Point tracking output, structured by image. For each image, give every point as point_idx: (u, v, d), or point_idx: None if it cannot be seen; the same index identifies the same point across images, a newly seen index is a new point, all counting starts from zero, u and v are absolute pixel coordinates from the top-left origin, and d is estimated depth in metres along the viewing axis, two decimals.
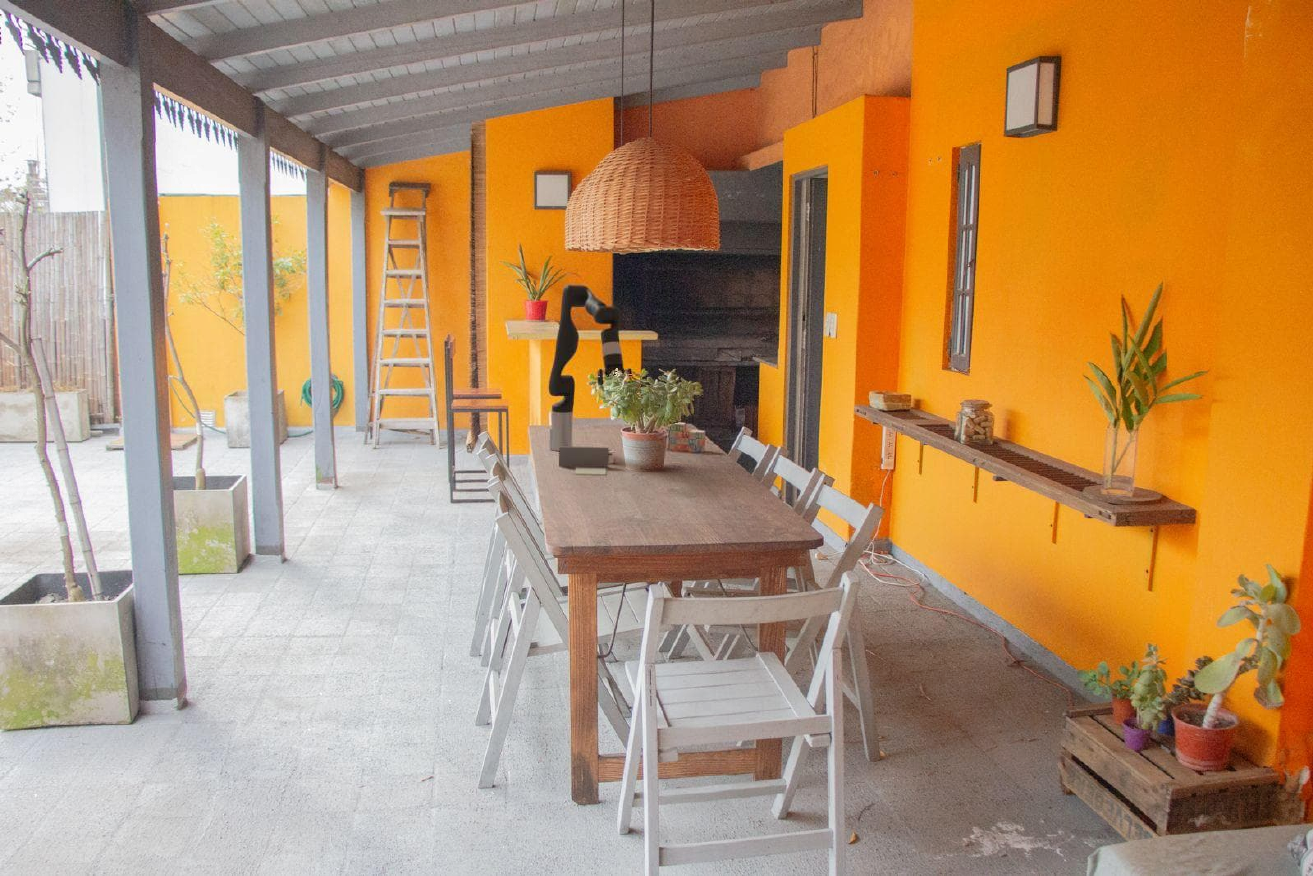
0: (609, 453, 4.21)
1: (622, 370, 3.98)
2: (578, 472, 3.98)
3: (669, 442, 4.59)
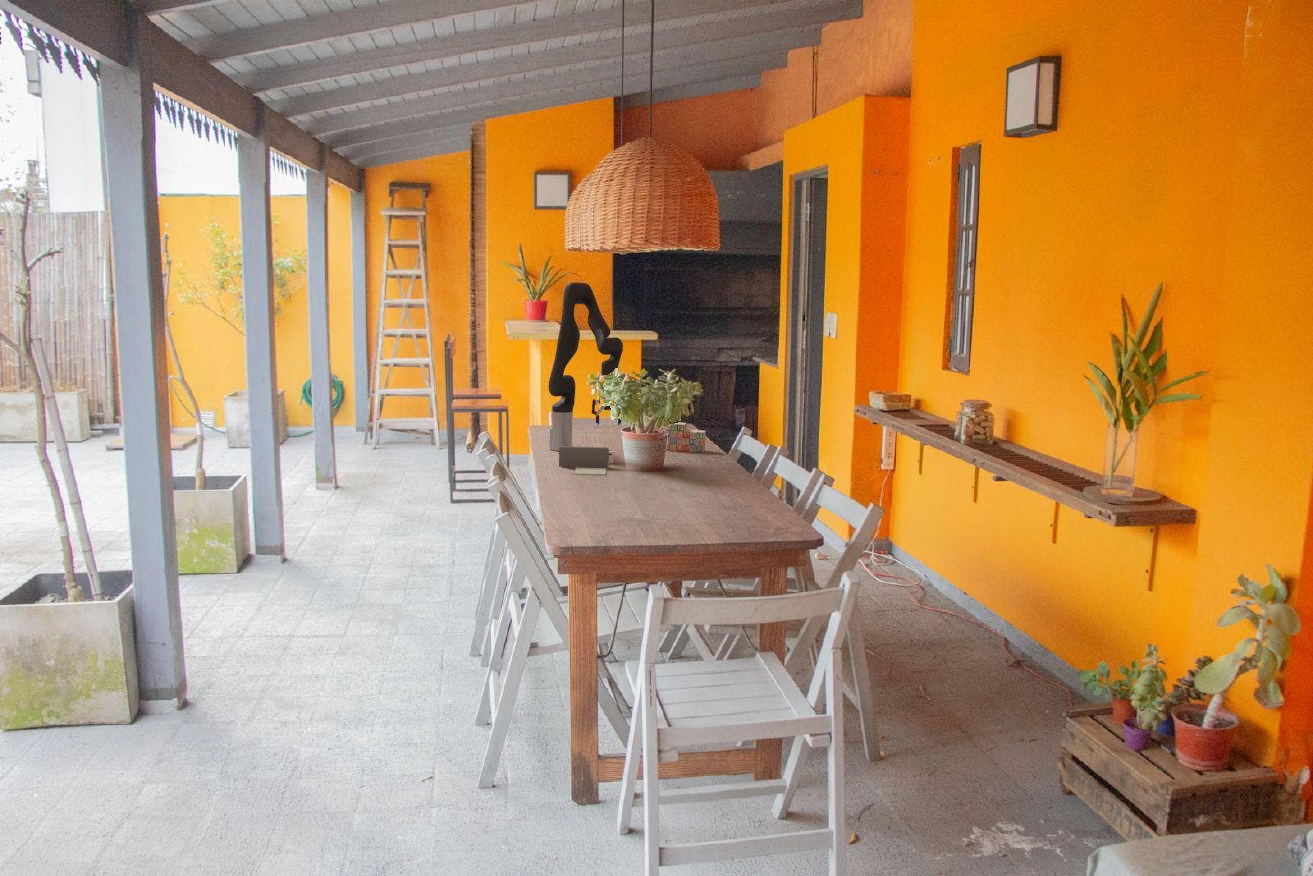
0: (609, 453, 4.21)
1: None
2: (578, 472, 3.98)
3: (670, 442, 4.58)
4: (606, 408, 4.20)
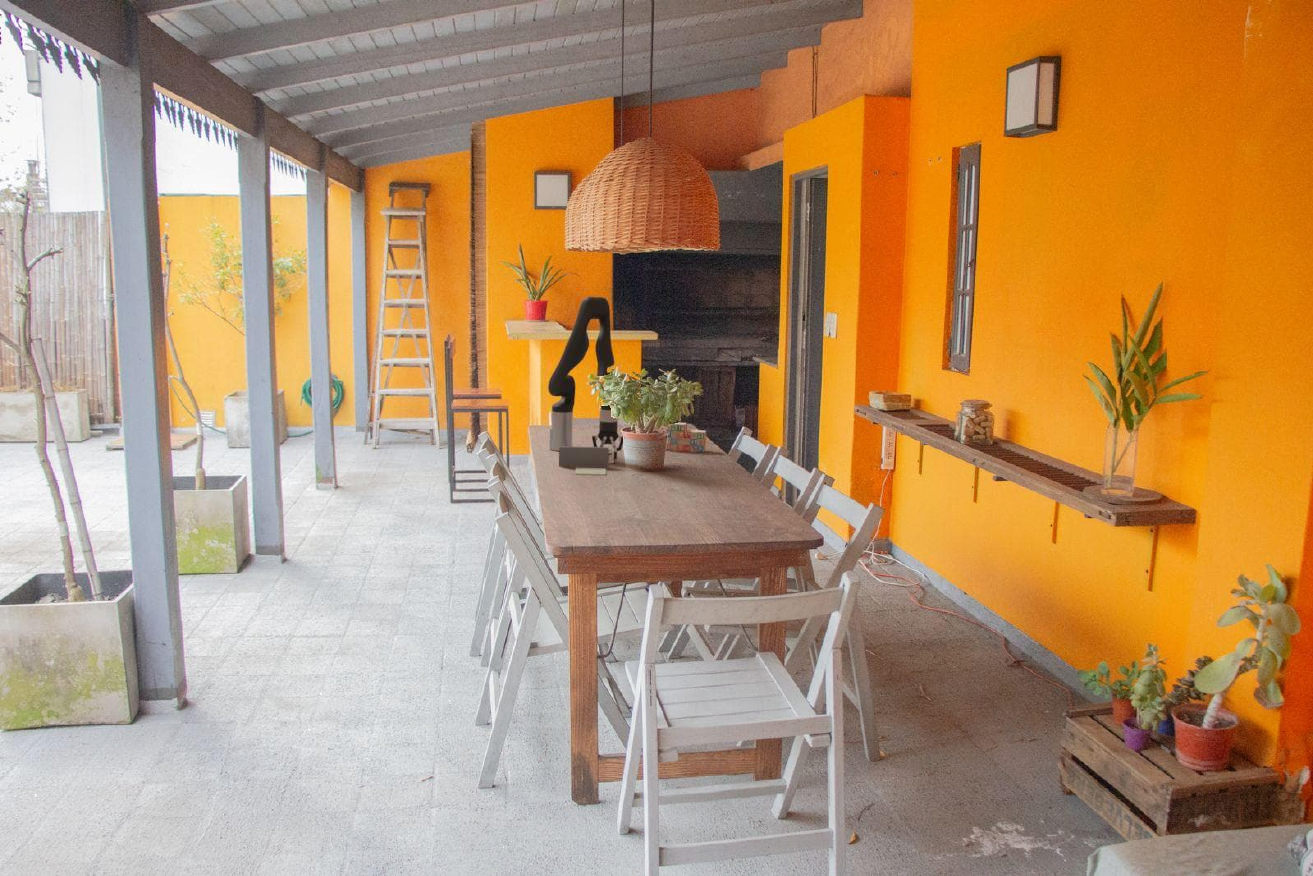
0: (609, 453, 4.21)
1: (615, 436, 4.22)
2: (578, 472, 3.98)
3: (670, 442, 4.58)
4: (607, 442, 4.22)
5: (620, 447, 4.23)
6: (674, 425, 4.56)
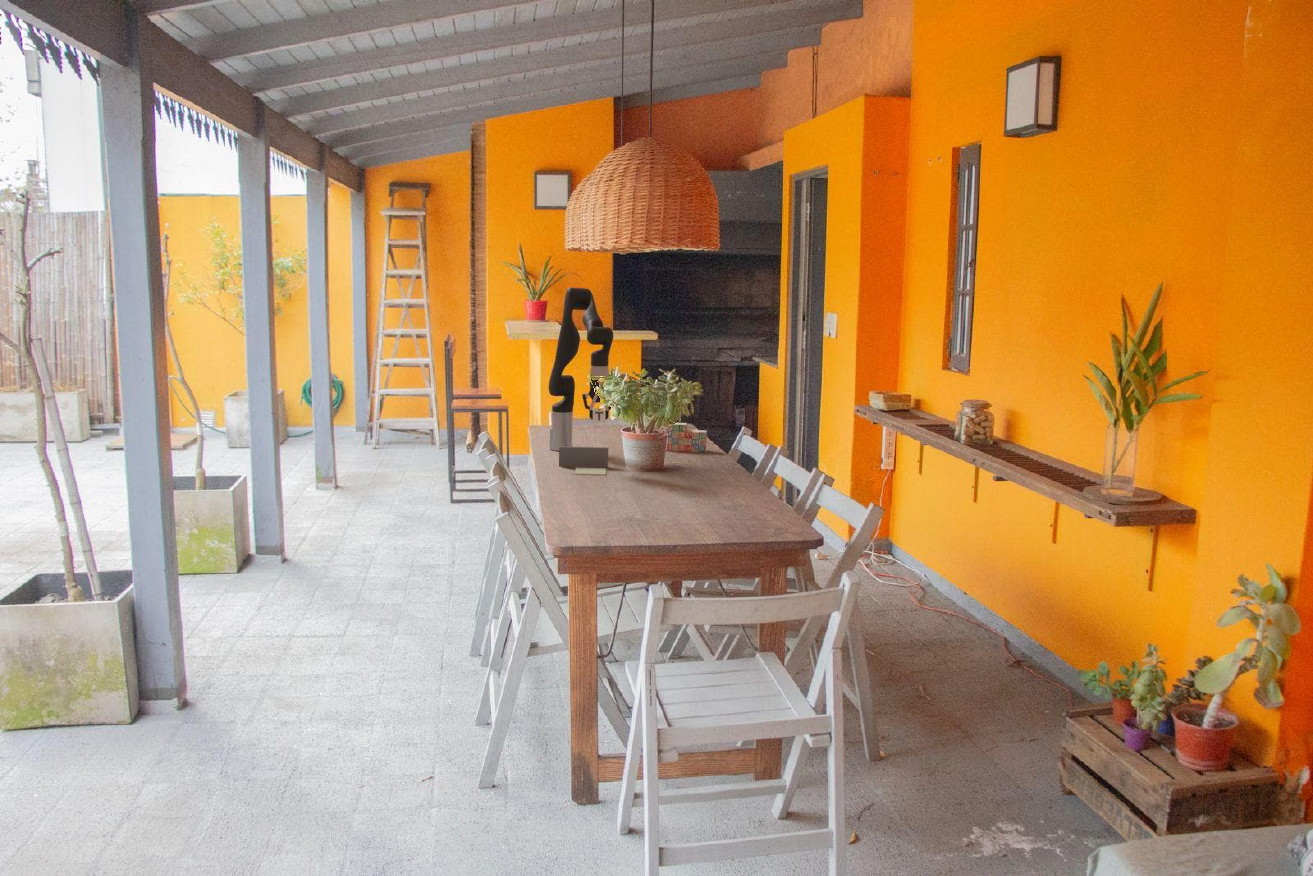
0: (600, 411, 4.03)
1: None
2: (578, 472, 3.98)
3: (671, 443, 4.57)
4: (598, 400, 4.04)
5: None
6: (675, 425, 4.56)
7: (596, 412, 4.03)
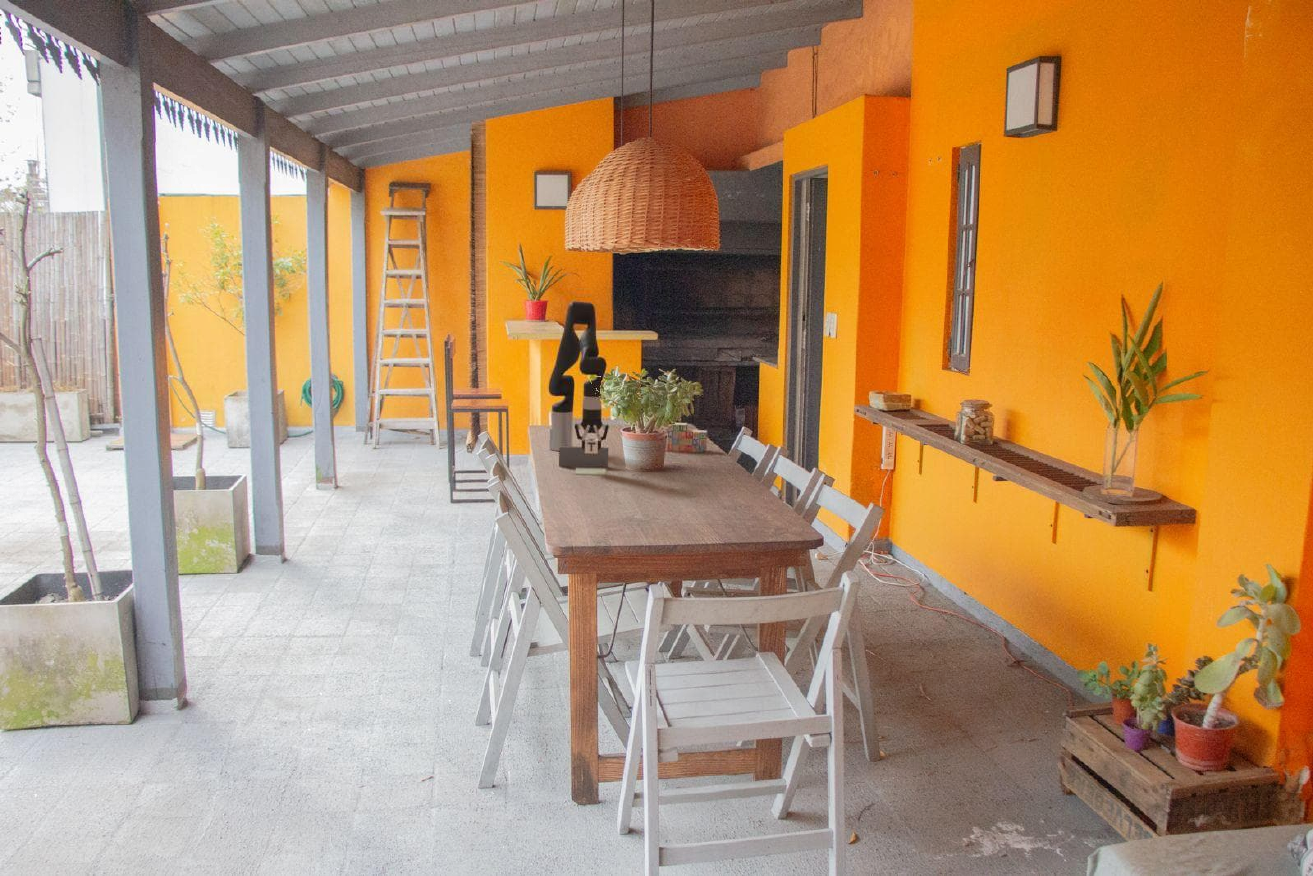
0: (593, 442, 3.98)
1: (599, 424, 3.99)
2: (578, 472, 3.98)
3: (672, 443, 4.57)
4: (590, 430, 3.99)
5: (604, 436, 4.00)
6: (676, 425, 4.55)
7: (588, 443, 3.98)
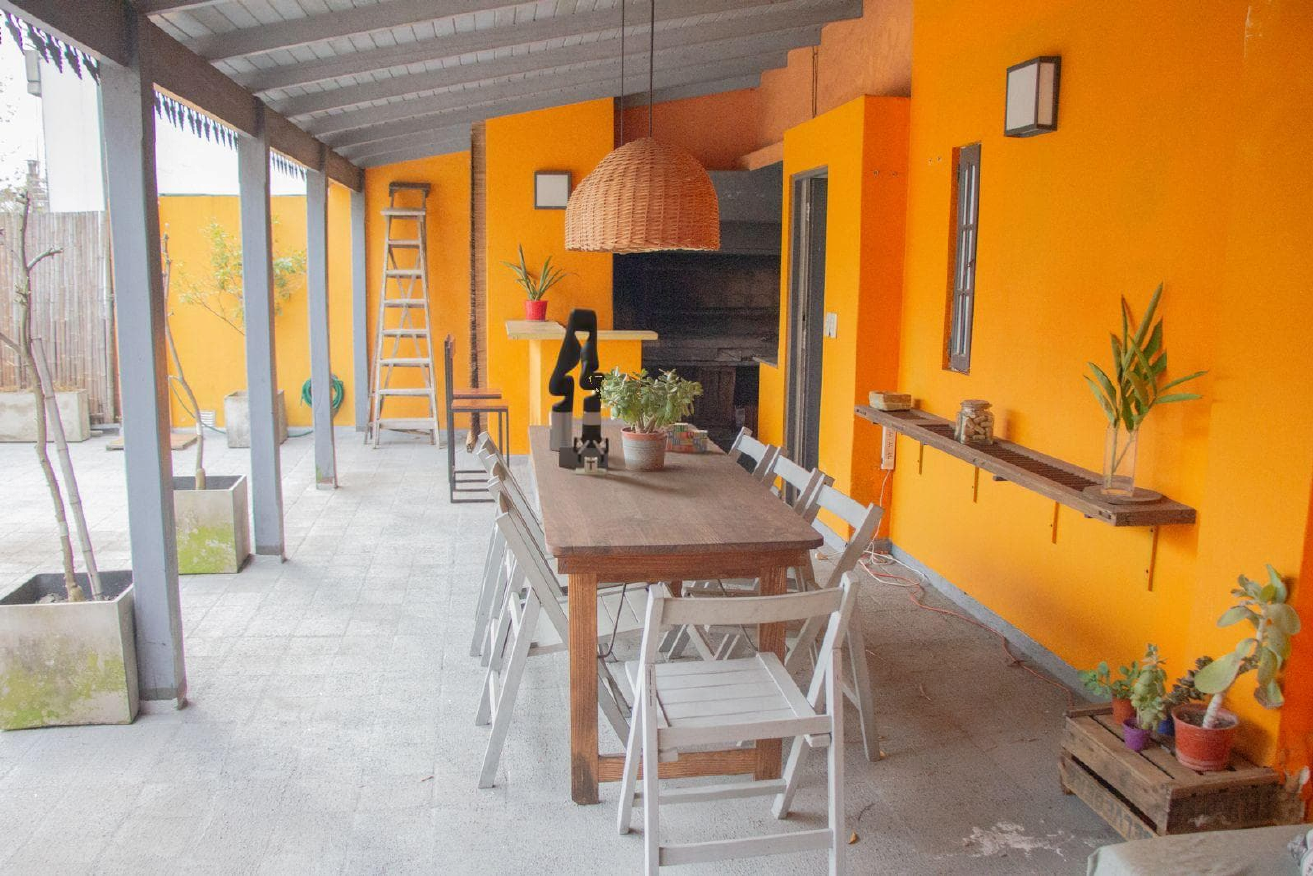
0: (592, 461, 4.00)
1: (598, 439, 4.00)
2: (578, 472, 3.98)
3: (673, 443, 4.56)
4: (588, 446, 4.00)
5: (607, 449, 4.01)
6: (677, 426, 4.55)
7: (588, 461, 4.00)
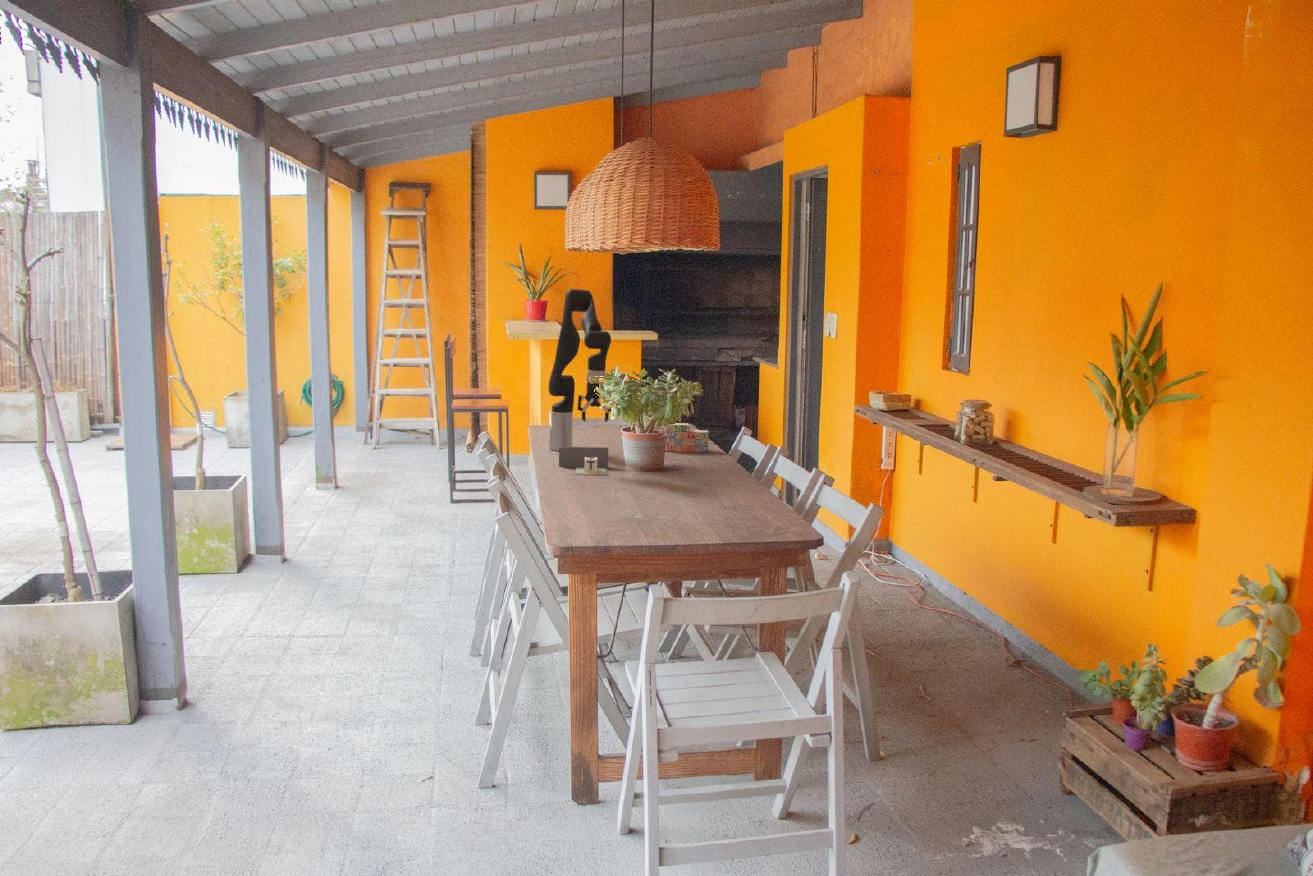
0: (592, 461, 4.00)
1: None
2: (578, 472, 3.98)
3: (674, 443, 4.56)
4: (593, 404, 4.04)
5: None
6: (678, 426, 4.54)
7: (588, 461, 4.00)
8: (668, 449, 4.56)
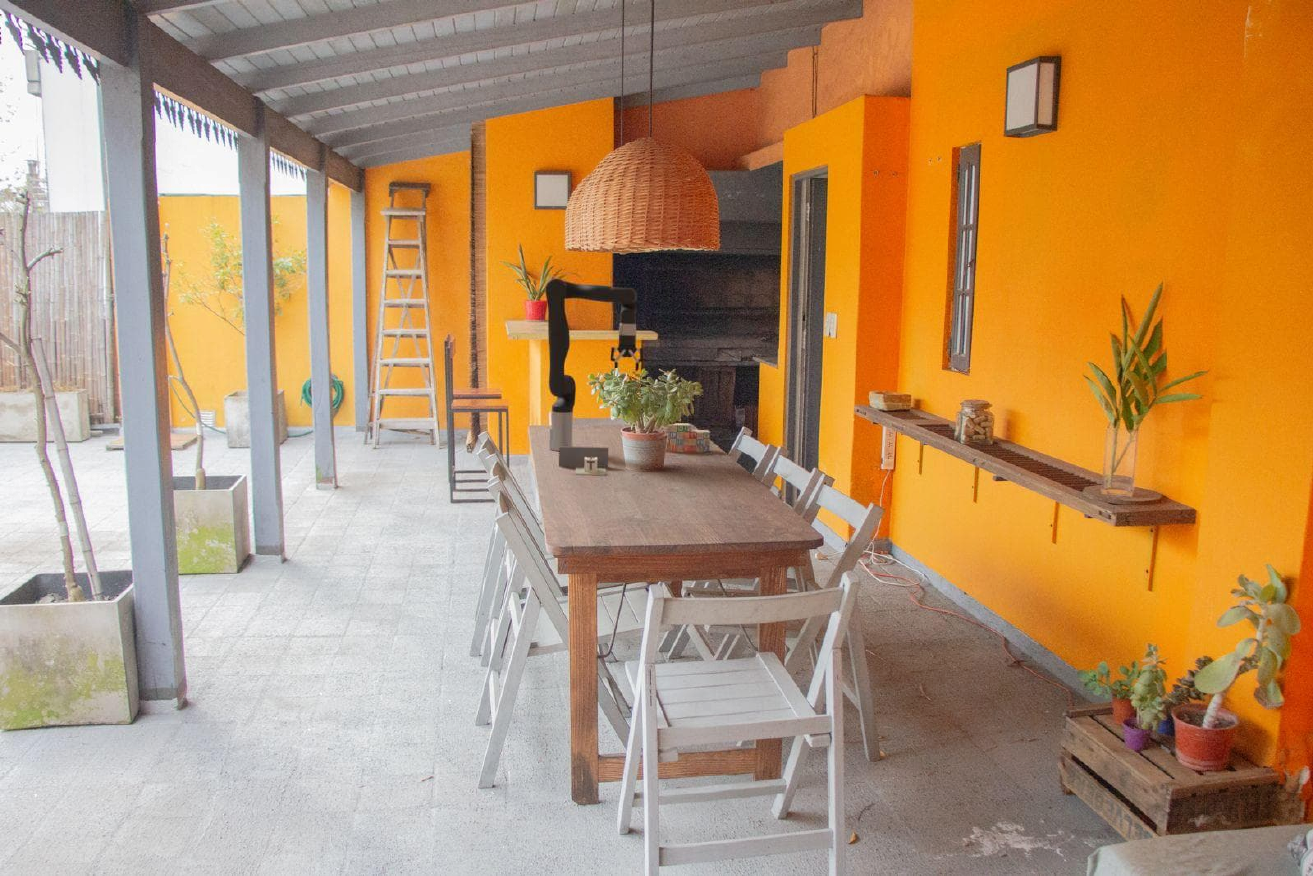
0: (592, 461, 4.00)
1: (634, 349, 4.42)
2: (578, 472, 3.98)
3: (676, 444, 4.55)
4: (624, 355, 4.42)
5: (642, 358, 4.42)
6: (680, 426, 4.54)
7: (588, 461, 4.00)
8: (670, 449, 4.55)
